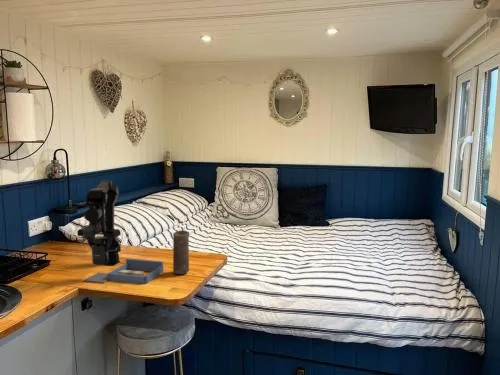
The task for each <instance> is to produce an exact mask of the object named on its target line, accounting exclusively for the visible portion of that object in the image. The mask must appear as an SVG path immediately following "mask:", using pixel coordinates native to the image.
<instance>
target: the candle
mask: <svg viewBox="0 0 500 375" xmlns="http://www.w3.org/2000/svg"><path fill="white" fill-rule="evenodd" d="M189 235H190V234H189V231H188V230H177V231H175V232H173V238H172V241H173V242H172V244H173V246H172V247H173V249H172V250H173V251H172V252H173V254H172V255H173V258H172V259H173V260H172V261H173V262H172V265H173V266H172V267H173V268H172V270H173V271H172V273H173V274H177V275H184V274H186V273H188V272H190V268H189V267H190V252H189V250H190V248H189V246H190V242H189V240H190V239H189Z"/></svg>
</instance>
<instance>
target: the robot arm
mask: <svg viewBox="0 0 500 375" xmlns="http://www.w3.org/2000/svg"><path fill="white" fill-rule="evenodd" d="M118 196H119V187H118V185H116V184H115V183H113V181H112V180H109V179H108V180H107V179H106V180H100V181H99V184H98V185H97V186H96V188H91V189H89V190H88V192H87V193H86V199H85V207H88V209H87V210H86V211H85V213H84V218H85V220H86V221H87V222H88V225H87V226H86V227H81V228H79V229H78V230H77V232H76V233H77V236H78V237H82V238H83V239H85V240H86V241H87V243H88V245H89V247H90V250H91V251H92V244H93V243H94V237H96V235H98V236H104V237H105V238H103V239H104V240H105V250H106V252H107V251H108V263H106V264H103V266H104V265H106V266H115V265H117V264H119V263H120V262H121V260H120V255H119V253H120V252H121V251H122V248H121V244H120V241H119V239H118V237H119V236H121V235H122V234H121V230H120V229H118V228H115V203H116V202H117V201H118Z"/></svg>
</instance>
